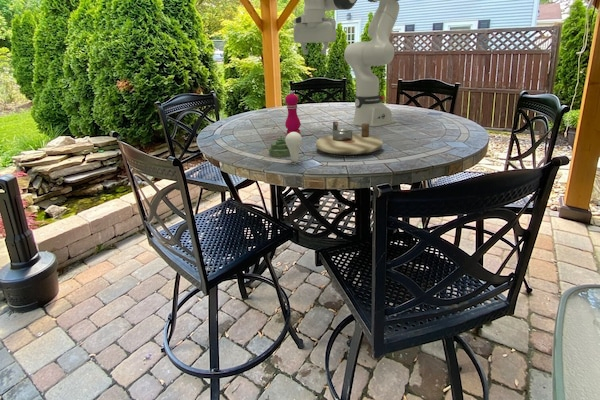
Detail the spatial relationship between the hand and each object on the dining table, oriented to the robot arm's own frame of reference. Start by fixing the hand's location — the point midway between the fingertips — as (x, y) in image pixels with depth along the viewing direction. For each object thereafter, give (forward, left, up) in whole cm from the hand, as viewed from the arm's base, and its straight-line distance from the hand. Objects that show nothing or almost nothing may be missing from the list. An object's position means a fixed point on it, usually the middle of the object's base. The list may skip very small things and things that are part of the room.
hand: (314, 54), depth 159 cm
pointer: (-3, +13, -35) cm, 38 cm away
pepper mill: (+8, -8, -35) cm, 37 cm away
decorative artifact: (+25, +20, -35) cm, 48 cm away
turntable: (0, +30, -33) cm, 45 cm away
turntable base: (0, +30, -35) cm, 46 cm away
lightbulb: (+25, +34, -35) cm, 55 cm away
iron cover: (0, +25, -32) cm, 40 cm away
